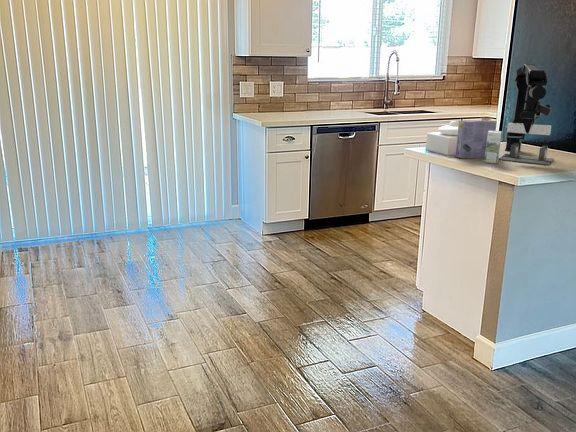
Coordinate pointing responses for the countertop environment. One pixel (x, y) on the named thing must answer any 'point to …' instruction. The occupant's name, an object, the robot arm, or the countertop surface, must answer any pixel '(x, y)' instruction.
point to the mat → (524, 161)
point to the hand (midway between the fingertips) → (528, 132)
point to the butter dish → (443, 139)
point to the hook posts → (541, 156)
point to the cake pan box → (473, 138)
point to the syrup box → (493, 147)
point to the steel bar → (533, 130)
